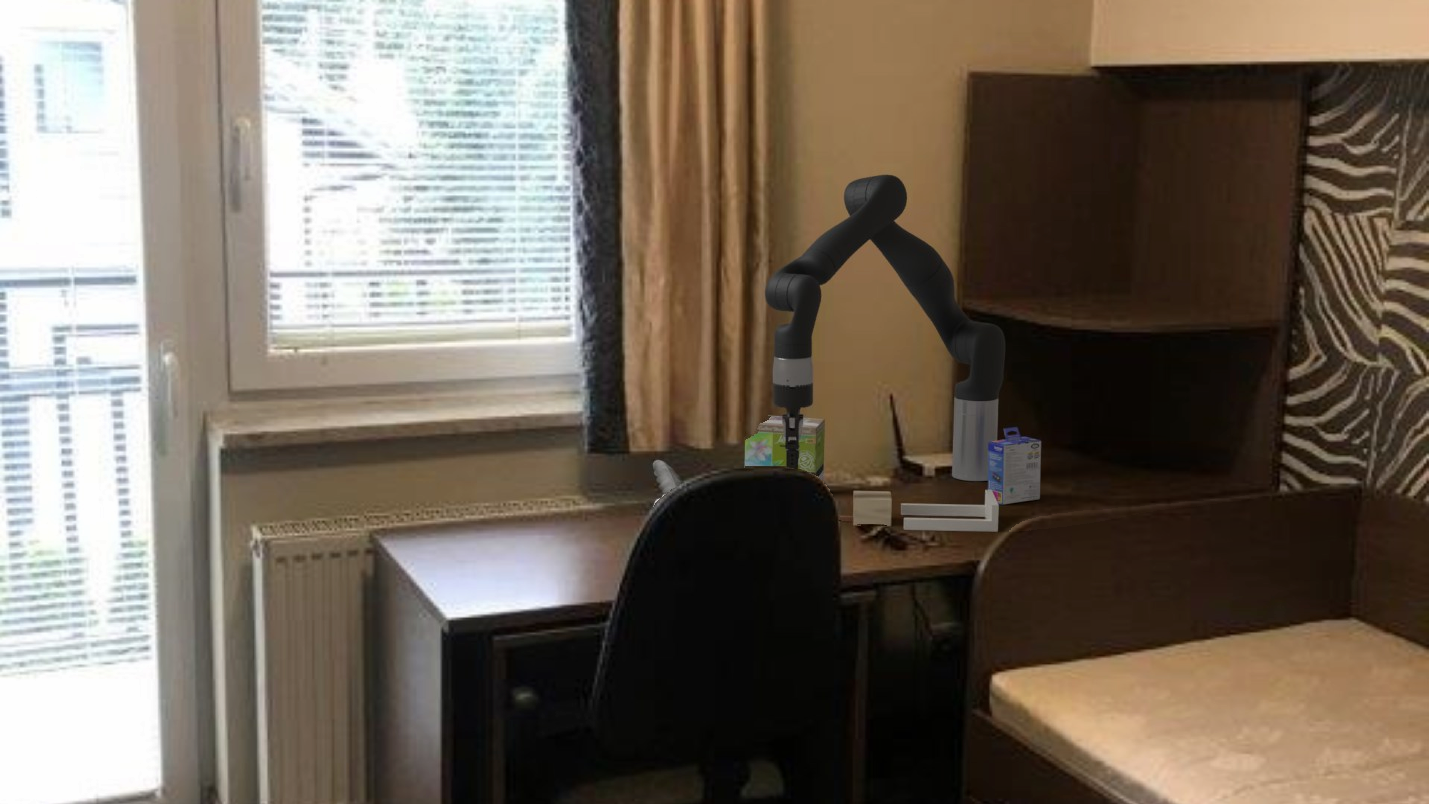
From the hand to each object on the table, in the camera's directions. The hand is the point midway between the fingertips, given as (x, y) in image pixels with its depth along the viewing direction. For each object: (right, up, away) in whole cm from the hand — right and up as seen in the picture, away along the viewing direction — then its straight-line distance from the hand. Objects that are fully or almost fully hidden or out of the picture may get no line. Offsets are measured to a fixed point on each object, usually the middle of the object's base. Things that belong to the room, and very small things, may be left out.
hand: (792, 465), depth 292 cm
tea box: (0, -6, +26) cm, 27 cm away
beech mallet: (+8, -11, +1) cm, 13 cm away
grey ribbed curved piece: (-24, -10, +4) cm, 26 cm away
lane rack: (+29, -11, 0) cm, 31 cm away
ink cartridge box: (+45, -8, +18) cm, 49 cm away
